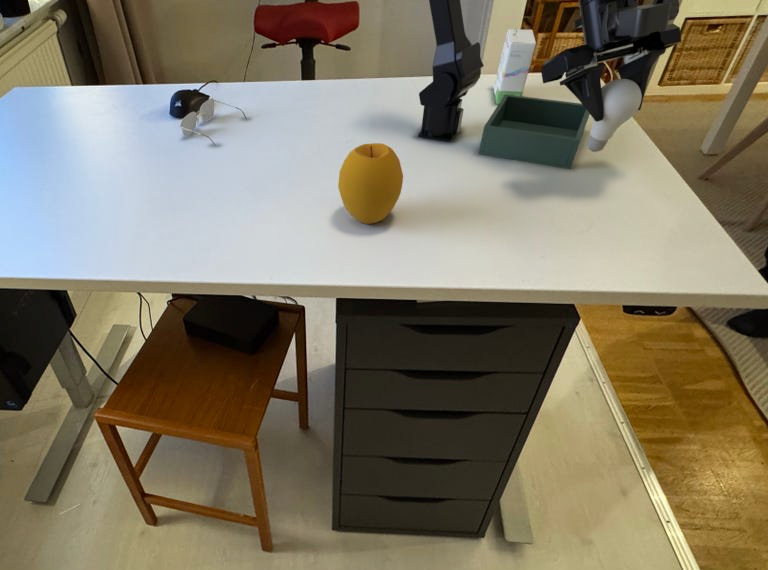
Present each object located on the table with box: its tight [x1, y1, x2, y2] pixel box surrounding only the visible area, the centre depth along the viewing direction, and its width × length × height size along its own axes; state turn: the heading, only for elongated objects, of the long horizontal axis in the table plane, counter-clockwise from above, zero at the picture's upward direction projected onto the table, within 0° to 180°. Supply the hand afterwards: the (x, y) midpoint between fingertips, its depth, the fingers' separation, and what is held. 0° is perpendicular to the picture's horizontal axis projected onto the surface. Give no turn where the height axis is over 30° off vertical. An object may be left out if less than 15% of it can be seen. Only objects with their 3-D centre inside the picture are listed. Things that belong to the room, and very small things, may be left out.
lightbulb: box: [586, 78, 642, 152], centre depth 81 cm, size 6×6×11 cm
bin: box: [478, 94, 591, 170], centre depth 98 cm, size 16×16×5 cm
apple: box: [337, 142, 404, 225], centre depth 82 cm, size 10×10×12 cm
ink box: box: [493, 28, 537, 105], centre depth 111 cm, size 9×5×12 cm, turn 168°
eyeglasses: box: [178, 98, 248, 146], centre depth 111 cm, size 14×8×4 cm, turn 155°
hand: (618, 115), depth 79 cm, fingers closed on lightbulb, 6 cm apart
